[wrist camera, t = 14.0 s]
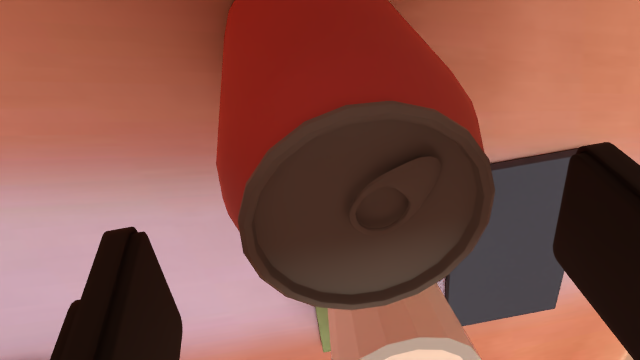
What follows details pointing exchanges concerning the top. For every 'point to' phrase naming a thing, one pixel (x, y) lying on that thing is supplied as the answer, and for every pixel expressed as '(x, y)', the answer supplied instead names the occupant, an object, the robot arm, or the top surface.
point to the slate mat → (514, 245)
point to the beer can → (346, 152)
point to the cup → (401, 331)
